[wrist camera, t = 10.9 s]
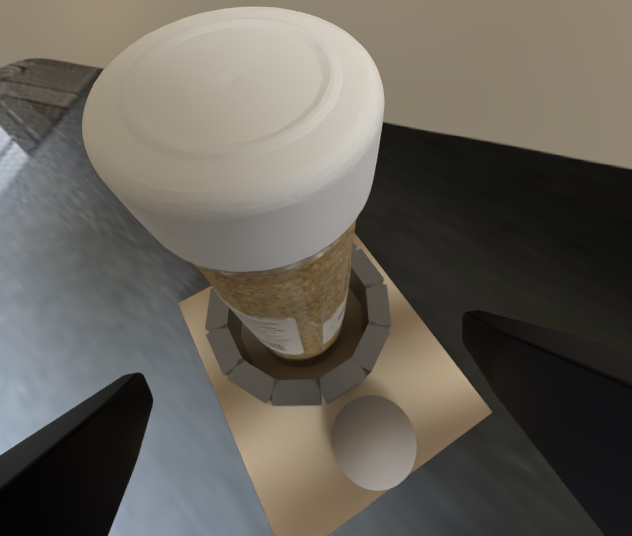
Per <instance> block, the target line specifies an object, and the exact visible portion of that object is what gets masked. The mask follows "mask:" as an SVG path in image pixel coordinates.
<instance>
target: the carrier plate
mask: <svg viewBox="0 0 632 536" xmlns="http://www.w3.org/2000/svg"><path fill="white" fill-rule="evenodd" d="M353 243H354V244H356V245H357V248H356V251H357V250H359V249H360V248H361V249H362V250H363V251H364V253H365V254H366V255H367V257H368V258H369V259H370V261H371V262H372V263H373V265H374V266H375V267H376V268H377V270H378V271H379V272H380V274H381V275H382V276H383V278H384V282H383V284H387V292H388V300H389V309H390V317H391V326H390V328H389V329H388V330H390V333H389V335H388V338H387V340H386V342H385V344H384V346H383V348H382V350H381V353H380V355H379V357H378V359H377V361H376V363H375V366H374V368H373V370H372V372H371V373H370V374H369V375H368V376H367V378H365V379H364V380H363V381H362V382H361V383H359V384H358V385H356V386H355V387H353V388H352V389H350V390H349V391H347V392H345V393H344V394H342V395H341V396H339V397H338V398H336V399H335V400H333V401H332V402H330V403H329V404H327V403H326V401H325V400H324V398H323V396H322V406H295V407H279V406H272V405H269V404H265V403H263V402H262V401H260V400H259V399H257V398H256V397H254V396H252V395H251V394H249V393H248V392H246V391H245V390H243V389H242V388H240V387H238V386H237V385H235V384H234V383H232V382H231V381H229V380H228V379H227V378H228V376H226V375H223V373H222V371H221V369H220V367H219V364H218V362H217V360H216V357H215V355H214V353H213V350H212V348H211V346H210V344H209V341H208V339H207V337H206V334H208V333H210V332H209V331H207V330H206V329H205V325H206V318H207V311H208V304H209V297H210V290H211V288H213V287H212V286H210V287H208V288H206V289H204V290H202V291H200V292H198V293H197V294H195V295H193V296H191V297H189V298H187V299H185V300H183V301H181V302H179V303H178V304H179V307H180V309H181V311H182V314H183V316H184V319H185V321H186V323H187V326H188V328H189V331H190V333H191V336H192V338H193V340H194V343H195V345H196V348H197V350H198V352H199V355H200V357H201V360H202V362H203V364H204V367H205V369H206V372H207V374H208V377H209V379H210V381H211V384H212V386H213V389H214V391H215V393H216V396H217V398H218V401H219V403H220V405H221V408H222V410H223V413H224V415H225V418H226V420H227V422H228V425H229V427H230V430H231V432H232V434H233V437H234V439H235V442H236V444H237V447H238V449H239V451H240V454H241V456H242V459H243V461H244V463H245V466H246V468H247V471H248V473H249V475H250V478H251V480H252V483H253V485H254V488H255V490H256V492H257V495H258V497H259V500H260V502H261V504H262V507H263V509H264V512H265V514H266V516H267V519H268V521H269V524H270V526H271V529H272V531H273V533H274V536H328V535H330V534H331V533H332V532H334V531H335V530H336V529H338V528H339V527H340V526H342V525H343V524H344V523H346V522H347V521H348V520H350V519H351V518H352V517H354V516H355V515H356V514H358V513H359V512H360V511H362V510H363V509H364V508H366V507H367V506H368V505H370V504H371V503H372V502H374V501H375V500H376V499H378V498H379V497H380V496H382V495H383V494H384V493H386V492H387V491H388V490H390V489H391V488H393V487H395V486H397V485H398V484H400V483H401V482H402V481H403V480H404V479H405V478H406V477H407V476H408V475H410V474H411V473H412V472H414V471H415V470H416V469H418V468H419V467H420V466H422V465H423V464H424V463H426V462H427V461H428V460H430V459H431V458H432V457H434V456H435V455H436V454H438V453H439V452H440V451H442V450H443V449H444V448H445V447H447V446H448V445H449V444H451V443H452V442H453V441H455V440H456V439H457V438H459V437H460V436H461V435H463V434H464V433H465V432H467V431H468V430H469V429H471V428H472V427H473V426H475V425H476V424H477V423H479V422H480V421H481V420H483V419H484V418H485V417H487V416H488V415H489V414H491V413H492V411H491V410H490V408H489V407H488V406H487V405H486V403H485V402H484V401H483V399H482V398H481V397H480V395H479V394H478V393H477V391H476V390H475V389H474V388H473V386H472V385H471V384H470V382H469V381H468V380H467V378H466V377H465V376H464V375H463V373H462V372H461V371H460V369H459V368H458V367H457V365H456V364H455V363H454V362H453V360H452V359H451V358H450V356H449V355H448V354H447V352H446V351H445V350H444V348H443V347H442V346H441V345H440V343H439V342H438V341H437V339H436V338H435V337H434V335H433V334H432V333H431V332H430V330H429V329H428V328H427V326H426V325H425V324H424V322H423V321H422V320H421V319H420V317H419V316H418V315H417V313H416V312H415V311H414V309H413V308H412V307H411V306H410V304H409V303H408V302H407V300H406V299H405V298H404V296H403V295H402V294H401V292H400V291H399V290H398V289H397V287H396V286H395V285H394V283H393V282H392V281H391V279H390V278H389V277H388V276H387V274H386V273H385V272H384V270H383V269H382V268H381V266H380V265H379V264H378V263H377V261H376V260H375V259H374V257H373V256H372V255H371V253H370V252H369V251H368V250H367V248H366V247H365V246H364V244H363V243H362V242H361V240H360V239H359V238H358V236H357V235H356V234H355V233H354V238H353ZM343 318H344V327H343V333H342V337H341V339H340V341H339V343H338V344H337V346H336V348H335V349H334V350H333V351H332V353H331V354H330V355H328V356H327V357H326V358H325V359H323V360H322V361H320V362H318V363H315V364H311V365H305V366H299V365H289V364H286V363H284V362H282V361H280V360H278V359H276V358H275V357H274V356H272V355H271V353H270V352H269V351H268V350H267V349H266V347H265V345H264V344H263V343H262V342H261V341H260V340H259V339H258V338H257V337H256V336H255V335H254V334H253V333H252V332H251V331H250V330H249V328H248V327H247V326H246V325H245V324H244V323H243V322H242V331H241V339H242V341H243V343H244V345H245V347H246V349H247V351H248V353H249V355H250V357H251V360H252V362H253V364H254V366H255V367H256V368H258V369H259V370H261V371H263V372H264V373H266V374H267V375H269V376H271V377H272V378H274V379H276V380H304V379H318V378H320V377H322V376H323V375H325V374H326V373H328V372H329V371H331V370H333V369H334V368H336V367H337V366H339V365H341V364H342V363H344V362H345V361H347V360H348V359H350V358H352V356H353V354H354V352H355V350H356V348H357V346H358V344H359V342H360V340H361V338H362V336H363V326H362V313H361V303H360V302H359V300H358V299H357V298H356V296H355V295H354V293H353V292H352V290H351V289H350V287H349V286H348V293H347V300H346V307H345V313H344V317H343Z"/></svg>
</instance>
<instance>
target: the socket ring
mask: <svg viewBox="0 0 632 536" xmlns="http://www.w3.org/2000/svg"><path fill="white" fill-rule="evenodd" d="M356 248H357V245H356V244H354V243H352V250H351V268H350V278H349V285H348V286H349V287H350V289H351V290H352V292H353V293H354V295H355V296H356V298H357V299H358V300H359V302H360V303H361V313H362V326H363V336H362V338H361V340H360V342H359V344H358V346H357V348H356V350H355V352H354V354H353V356H352V358H350V359H348V360H347V361H345V362H344V363H342V364H341V365H339V366H337V367H336V368H334V369H333V370H331V371H329V372H328V373H326V374H325V375H323V376H322V377H320V378H318V379H304V380H276V379H274V378H272V377H271V376H269V375H267V374H266V373H264V372H263V371H261V370H259V369H258V368H256V367H255V366H254V364H253V362H252V360H251V357H250V355H249V353H248V351H247V349H246V347H245V345H244V343H243V341H242V339H241V331H242V321H241V320H240V319H239V317H238V316H237V315H236V314H235V313H234V312H233V311H232V310H231V309H230V308H229V307H228V306H227V305H226V304H225V303H224V302H223V301H222V299H221V298H220V297H219V296H218V295H217V293H216V292H215V290H214V288H211V290H210V297H209V304H208V311H207V318H206V325H205V329H206V330H207V331H209V332H210V333H208V334H206V337H207V339H208V341H209V344H210V346H211V348H212V350H213V353H214V355H215V357H216V360H217V362H218V364H219V367H220V369H221V371H222V373H223V375H226V376H228V378H227V379H228V380H229V381H231V382H232V383H234V384H235V385H237V386H238V387H240V388H242V389H243V390H245V391H246V392H248V393H249V394H251V395H252V396H254V397H256V398H257V399H259V400H260V401H262V402H263V403H265V404H269V405H272V406H279V407H295V406H322V396H323V398H324V400H325V401H326V403H327V404H329V403H330V402H332V401H333V400H335V399H336V398H338V397H339V396H341V395H342V394H344V393H345V392H347V391H349V390H350V389H352V388H353V387H355V386H356V385H358V384H359V383H361V382H362V381H363V380H364V379H365V378H367V376H368V375H369V374H370V373H371V372H372V370H373V368H374V366H375V363H376V361H377V359H378V357H379V355H380V353H381V350H382V348H383V346H384V344H385V342H386V340H387V338H388V335H389V333H390V330H388V329H389V328H390V326H391V317H390V309H389V300H388V292H387V284H383V282H384V278H383V276H382V275H381V274H380V272H379V271H378V270H377V268H376V267H375V266H374V265H373V263H372V262H371V261H370V259H369V258H368V257H367V255H366V254H365V253H364V251H363V250H362V249H361V248H360V249H359V250H357V251H356Z"/></svg>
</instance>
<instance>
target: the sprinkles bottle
mask: <svg viewBox="0 0 632 536" xmlns="http://www.w3.org/2000/svg"><path fill="white" fill-rule="evenodd" d="M383 115H384V91H383V86H382V82H381V78H380V75H379V72H378V70H377V67H376V66H375V63H374V62H373V60H372V59H371V57H370V55H369V53H368V52H367V51H366V50H365V49H364V47H363V46H362V45H360V44H359V43H358V42H357V41H356V40H355V39H354V38H353V37H352V36H350V35H349V34H348V33H347V32H345V31H344V30H342V29H341V28H339V27H337V26H335V25H334V24H331V23H329V22H327V21H325V20H323V19H320V18H318V17H316V16H312V15H309V14H305V13H301V12H298V11H292V10H287V9H282V8H272V7H236V8H227V9H220V10H215V11H209V12H204V13H200V14H196V15H193V16H189V17H186V18H183V19H181V20H178V21H175V22H173V23H170V24H168V25H166V26H163V27H161V28H159V29H157V30H155V31H153V32H151V33H148V34H147V35H145V36H144V37H142V38H140V39H139V40H137V41H136V42H134V43H133V44H131V45H130V46H128V47H127V48H126V49H125V50H124V51H122V52H121V53H120V54H119V55H118V56H117V57H116V58H115V59H114V60H113V61H112V62H111V63H110V64H109V65H108V66H107V67H106V68H105V69H104V70H103V71H102V73H101V74H100V76H99V77H98V79H97V80H96V82H95V83H94V85H93V87H92V89H91V91H90V94H89V96H88V99H87V101H86V104H85V108H84V112H83V120H82V136H83V140H84V145H85V149H86V151H87V154H88V157H89V159H90V161H91V163H92V165H93V167H94V169H95V170H96V172H97V173H98V175H99V176H100V178H101V179H102V180H103V181H104V183H105V184H106V185H107V186H108V187H109V189H110V190H111V191H112V192H113V193H114V194H115V195H116V196H117V198H118V199H119V200H120V201H121V202H122V203H123V204H124V205H125V207H126V208H127V209H128V210H129V211H130V212H131V213H132V214H133V216H134V217H135V218H136V219H137V220H138V221H139V222H140V223H141V224H142V225H143V226H144V227H145V228H146V229H147V230H148V231H149V232H150V233H151V234H152V235H153V236H154V237H155V238H156V239H157V240H158V241H159V242H160V243H161V244H162V245H163V246H164V247H166V248H167V249H168V250H169V251H171V252H172V253H174V254H176V255H177V256H179V257H180V258H182V259H184V260H186V261H188V262H190V263H191V264H193V265H194V266H196V267H197V268H198V269H199V271H200V272H201V273H202V274H203V275H204V276H205V278H206V279H207V280H208V281H209V283H210V284H211V285H212V287H213V288H214V290H215V292H216V293H217V295H218V296H219V297H220V298H221V299H222V301H223V302H224V303H225V304H226V305H227V306H228V307H229V308H230V309H231V310H232V311H233V312H234V313H235V314H236V315H237V316H238V317H239V319H240V320H241V321H242V322H243V323H244V324H245V325H246V326H247V327H248V328H249V330H250V331H251V332H252V333H253V334H254V335H255V336H256V337H257V338H258V339H259V340H260V341H261V342H262V343H263V344H264V345H265V347H266V349H267V350H268V351H269V352H270V353H271V355H272V356H274V357H275V358H276V359H278V360H280V361H282V362H284V363H286V364H289V365H299V366H305V365H311V364H315V363H318V362H320V361H322V360H323V359H325V358H326V357H327V356H328V355H330V354H331V353H332V351H333V350H334V349H335V348H336V346H337V344H338V343H339V341H340V339H341V337H342V333H343V327H344V318H343V317H344V313H345V307H346V300H347V293H348V285H349V278H350V268H351V250H352V243H353V238H354V231H355V223H356V218H357V217H358V215H359V213H360V212H361V211H362V209H363V207H364V205H365V203H366V201H367V199H368V196H369V193H370V190H371V186H372V182H373V177H374V172H375V167H376V161H377V155H378V149H379V142H380V136H381V129H382V123H383Z"/></svg>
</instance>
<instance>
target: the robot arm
mask: <svg viewBox="0 0 632 536" xmlns="http://www.w3.org/2000/svg"><path fill="white" fill-rule="evenodd" d="M462 341H463V344H464V346H465V348H466V349H467V351H468V353H469V354H470V356H471V358H472V359H473V361H474V362H475V364H476V366H477V367H478V369H479V370H480V372H481V374H482V375H483V377H484V378H485V380H486V382H487V383H488V385H489V386H490V388H491V389H492V391H493V392H494V394H495V395H496V396H497V398H498V399H499V400H500V402H501V403H502V404H503V405H504V407H505V408H506V409H507V411H508V412H509V413H510V414H511V416H512V417H513V418H514V420H515V421H516V422H517V424H518V425H519V426H520V427H521V429H522V430H523V431H524V433H525V434H526V435H527V436H528V438H529V439H530V440H531V442H532V443H533V444H534V445H535V447H536V448H537V449H538V451H539V452H540V453H541V454H542V456H543V457H544V458H545V460H546V461H547V462H548V463H549V465H550V466H551V467H552V469H553V470H554V471H555V472H556V474H557V475H558V476H559V478H560V479H561V480H562V482H563V483H564V484H565V485H566V487H567V488H568V489H569V491H570V492H571V493H572V494H573V496H574V497H575V498H576V500H577V501H578V502H579V503H580V505H581V506H582V507H583V509H584V510H585V511H586V512H587V514H588V515H589V516H590V518H591V519H592V520H593V521H594V523H595V524H596V525H597V527H598V528H599V529H600V530H601V532H602V533H603V534H604V536H632V351H629V350H625V349H621V348H617V347H614V346H610V345H606V344H603V343H599V342H595V341H592V340H588V339H584V338H580V337H577V336H573V335H569V334H566V333H562V332H558V331H555V330H551V329H547V328H543V327H540V326H536V325H532V324H529V323H525V322H521V321H517V320H514V319H510V318H506V317H503V316H499V315H495V314H492V313H488V312H484V311H480V310H475V311H470V312H465V313H464V314H463V317H462ZM152 405H153V397H152V394H151V391H150V389H149V386H148V384H147V382H146V379H145V377H144V375H143V374H142V373H139V372H138V373H132V374H127V375H124V376H122V377H120V378H119V379H117V380H116V381H114V382H113V383H111V384H110V385H108V386H107V387H105V388H103V389H102V390H100V391H99V392H97V393H96V394H94V395H93V396H91V397H90V398H88V399H87V400H85V401H83V402H82V403H80V404H79V405H77V406H76V407H74V408H73V409H71V410H70V411H68V412H66V413H65V414H63V415H62V416H60V417H59V418H57V419H56V420H54V421H53V422H51V423H50V424H48V425H46V426H45V427H43V428H42V429H40V430H39V431H37V432H36V433H34V434H33V435H31V436H30V437H28V438H26V439H25V440H23V441H22V442H20V443H19V444H17V445H16V446H14V447H13V448H11V449H9V450H8V451H6V452H5V453H3V454H2V455H0V536H108V534H109V532H110V529H111V526H112V524H113V521H114V519H115V516H116V514H117V511H118V508H119V506H120V503H121V501H122V498H123V496H124V493H125V490H126V488H127V485H128V483H129V480H130V478H131V475H132V472H133V470H134V467H135V464H136V461H137V458H138V455H139V452H140V448H141V445H142V441H143V438H144V434H145V431H146V427H147V423H148V420H149V416H150V413H151V409H152Z"/></svg>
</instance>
